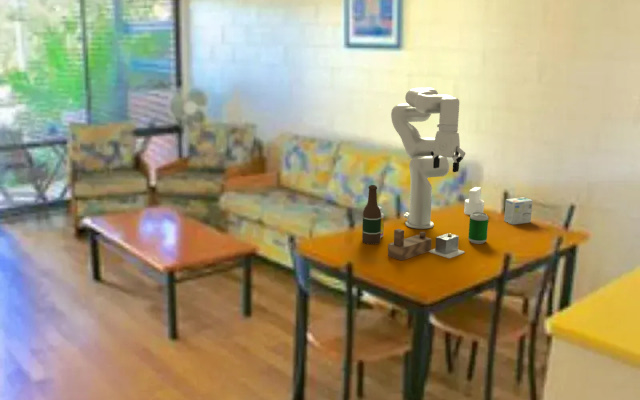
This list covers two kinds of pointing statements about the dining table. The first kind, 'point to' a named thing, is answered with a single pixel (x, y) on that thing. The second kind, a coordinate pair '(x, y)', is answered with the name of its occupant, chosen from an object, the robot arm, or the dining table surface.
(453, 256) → the felt pad
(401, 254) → the body
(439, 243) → the grey stone box
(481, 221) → the soda can
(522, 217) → the light bulb box
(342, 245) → the dining table surface
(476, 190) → the base with upright slab
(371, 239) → the beer bottle
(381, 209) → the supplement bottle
